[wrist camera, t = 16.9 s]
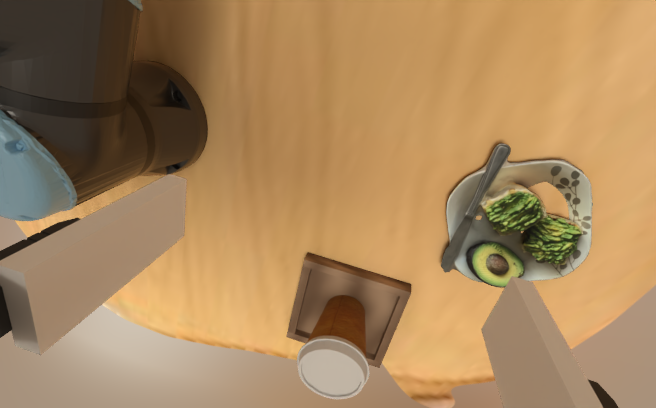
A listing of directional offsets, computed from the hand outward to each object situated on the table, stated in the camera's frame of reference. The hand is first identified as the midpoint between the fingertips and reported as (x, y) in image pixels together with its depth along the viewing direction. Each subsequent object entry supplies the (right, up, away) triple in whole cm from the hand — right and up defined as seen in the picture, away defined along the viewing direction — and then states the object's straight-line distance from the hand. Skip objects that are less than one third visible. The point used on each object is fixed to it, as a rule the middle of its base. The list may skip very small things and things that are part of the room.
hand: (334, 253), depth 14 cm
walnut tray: (+3, -15, +41) cm, 44 cm away
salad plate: (+24, -1, +31) cm, 39 cm away
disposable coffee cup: (+3, -15, +41) cm, 43 cm away
